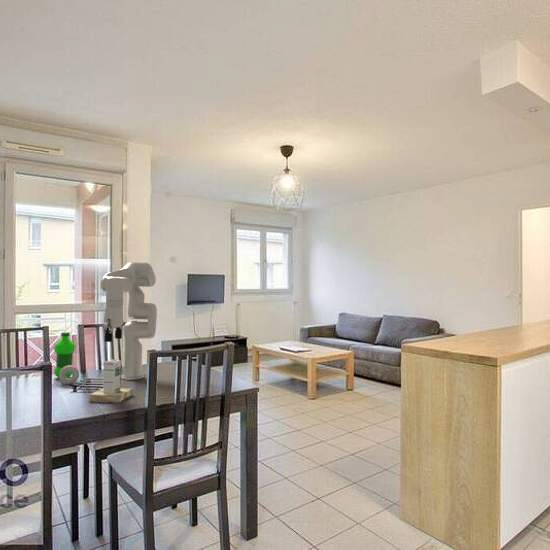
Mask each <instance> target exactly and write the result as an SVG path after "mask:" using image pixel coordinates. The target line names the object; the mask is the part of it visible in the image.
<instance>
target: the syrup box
mask: <svg viewBox="0 0 550 550" xmlns="http://www.w3.org/2000/svg"><path fill="white" fill-rule="evenodd" d="M121 371H122V360H121V359H109V360H105V361H103V372H102V373H103V375H102V376H103V377H102V378H103V379H102V380H103V382H102V383H103V384H102V388H103V392H104V393H115V392H118V391H120V390H121V388H122V387H121V383H122V380H121V373H122V372H121Z"/></svg>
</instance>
